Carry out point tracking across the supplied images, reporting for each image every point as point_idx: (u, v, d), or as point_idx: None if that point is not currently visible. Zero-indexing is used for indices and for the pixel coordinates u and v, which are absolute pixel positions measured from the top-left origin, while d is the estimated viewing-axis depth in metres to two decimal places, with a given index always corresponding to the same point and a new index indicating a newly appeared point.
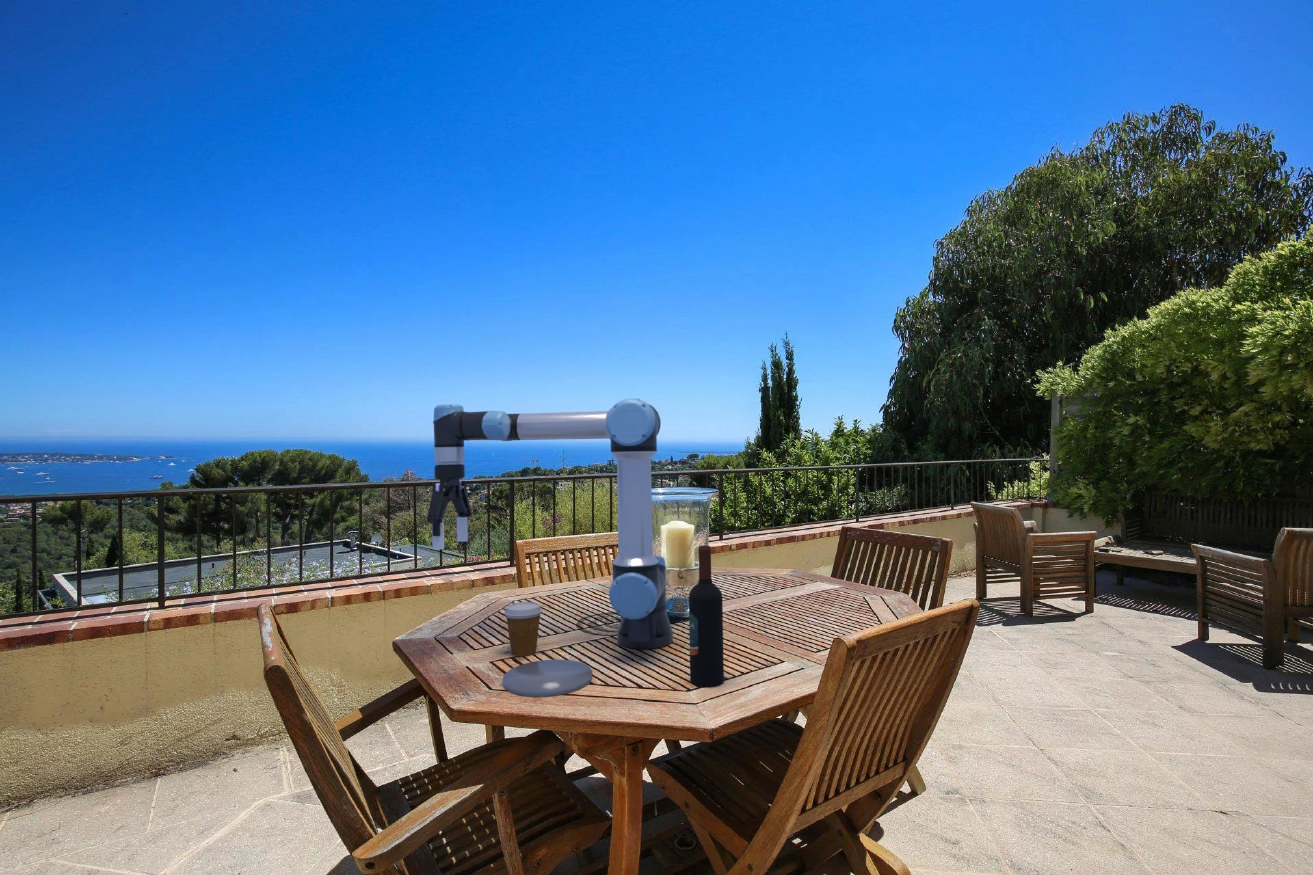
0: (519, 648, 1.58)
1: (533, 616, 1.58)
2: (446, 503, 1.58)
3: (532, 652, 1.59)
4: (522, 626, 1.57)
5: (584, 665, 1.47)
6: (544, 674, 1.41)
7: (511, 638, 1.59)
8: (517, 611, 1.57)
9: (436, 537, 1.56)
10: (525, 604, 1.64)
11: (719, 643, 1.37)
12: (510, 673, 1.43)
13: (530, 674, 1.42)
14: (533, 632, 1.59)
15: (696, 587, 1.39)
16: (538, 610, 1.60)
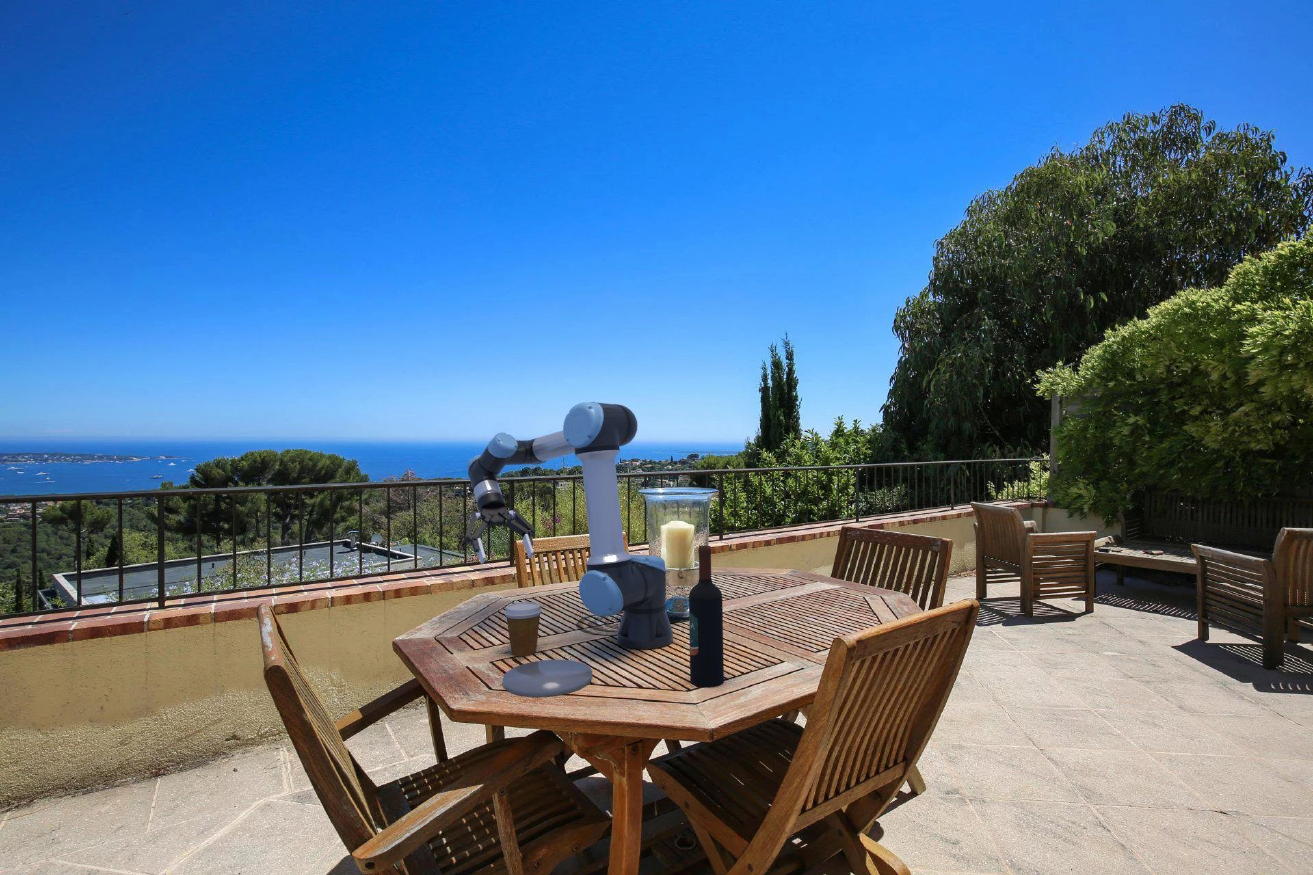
0: (519, 648, 1.58)
1: (533, 616, 1.58)
2: (483, 524, 1.74)
3: (532, 652, 1.59)
4: (522, 626, 1.57)
5: (584, 665, 1.47)
6: (544, 674, 1.41)
7: (511, 638, 1.59)
8: (517, 611, 1.57)
9: (479, 552, 1.69)
10: (525, 604, 1.64)
11: (719, 643, 1.37)
12: (510, 673, 1.43)
13: (530, 674, 1.42)
14: (533, 632, 1.59)
15: (696, 587, 1.39)
16: (538, 610, 1.60)
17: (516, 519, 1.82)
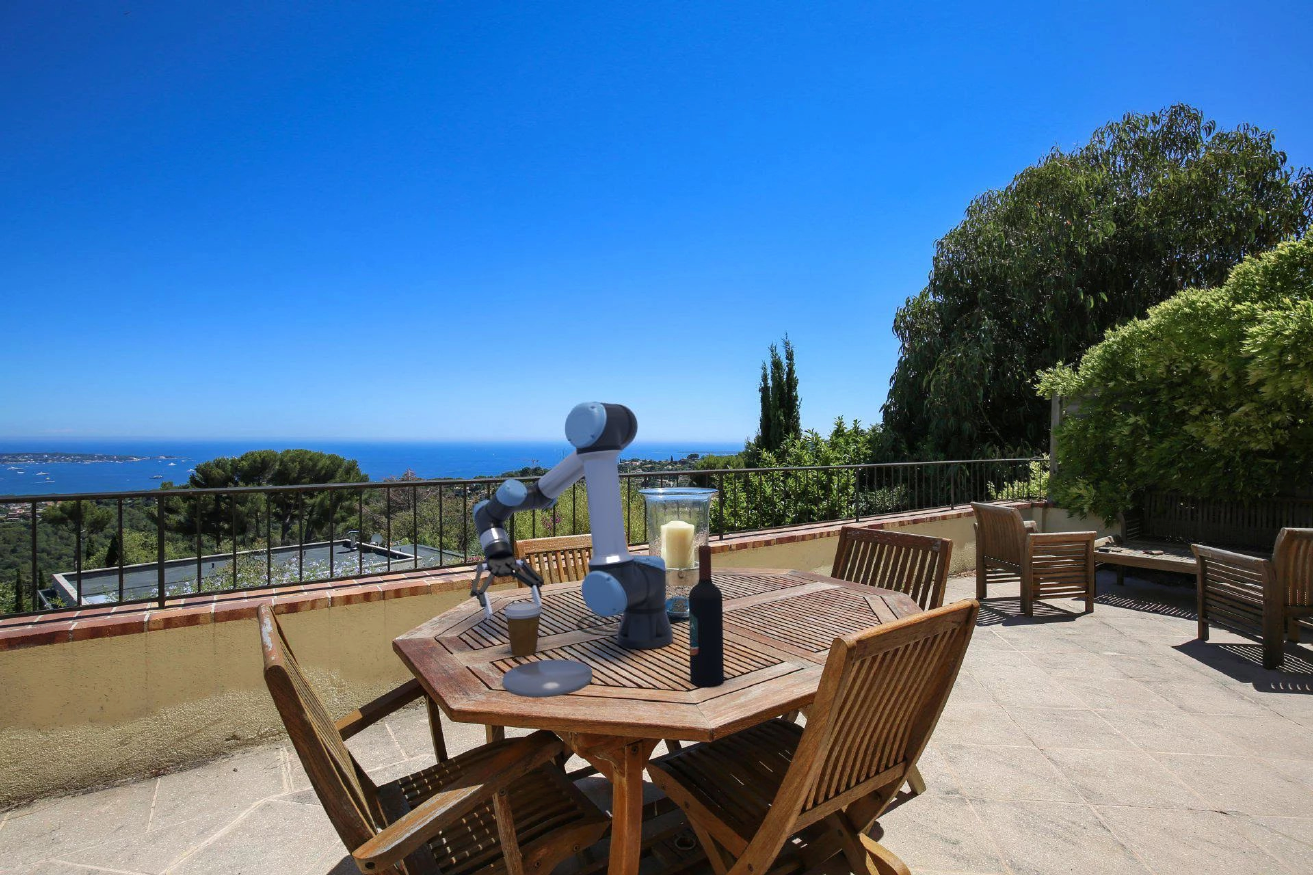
0: (519, 648, 1.58)
1: (533, 616, 1.58)
2: (490, 576, 1.68)
3: (532, 652, 1.59)
4: (522, 626, 1.57)
5: (584, 665, 1.47)
6: (544, 674, 1.41)
7: (511, 638, 1.59)
8: (517, 611, 1.57)
9: (485, 607, 1.63)
10: (525, 604, 1.64)
11: (719, 643, 1.37)
12: (510, 673, 1.43)
13: (530, 674, 1.42)
14: (533, 632, 1.59)
15: (696, 587, 1.39)
16: (538, 610, 1.60)
17: (524, 569, 1.76)
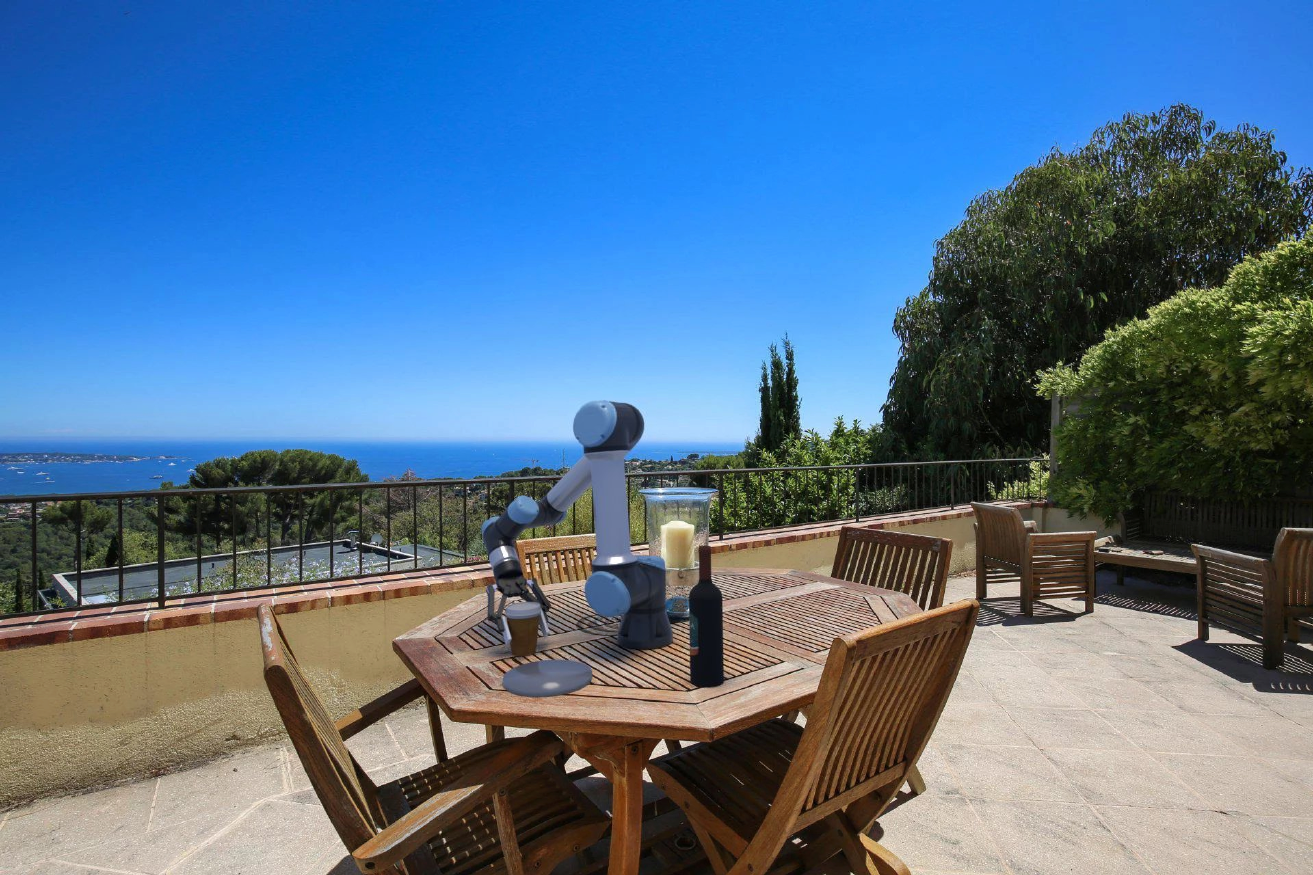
0: (519, 648, 1.58)
1: (533, 616, 1.58)
2: (503, 598, 1.63)
3: (532, 652, 1.59)
4: (522, 626, 1.57)
5: (584, 665, 1.47)
6: (544, 674, 1.41)
7: (511, 638, 1.59)
8: (517, 611, 1.57)
9: (504, 632, 1.58)
10: (525, 604, 1.64)
11: (719, 643, 1.37)
12: (510, 673, 1.43)
13: (530, 674, 1.42)
14: (533, 632, 1.59)
15: (696, 587, 1.39)
16: (538, 610, 1.60)
17: (533, 590, 1.70)
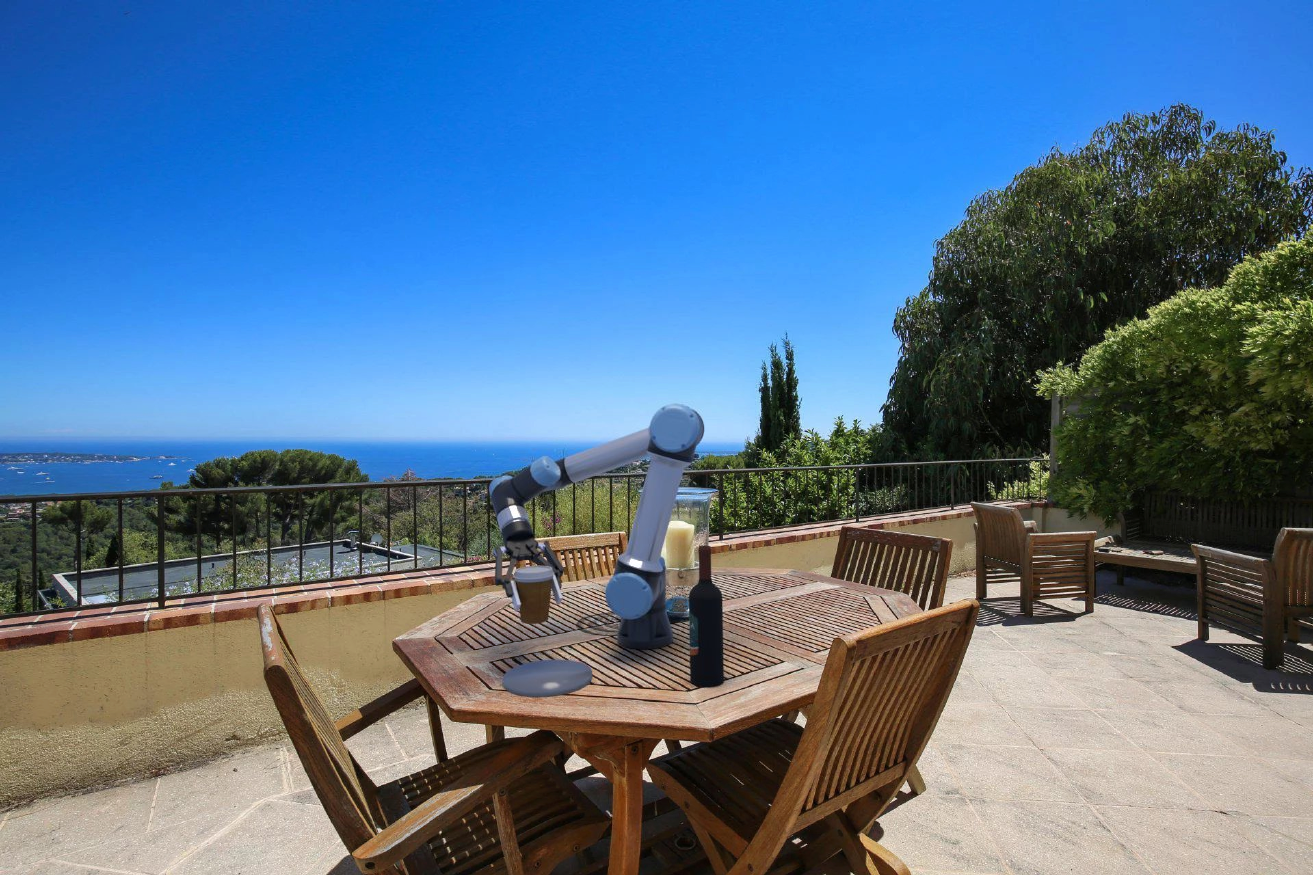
0: (529, 615, 1.43)
1: (544, 580, 1.43)
2: (512, 561, 1.48)
3: (544, 620, 1.44)
4: (533, 590, 1.42)
5: (584, 665, 1.47)
6: (544, 674, 1.41)
7: None
8: (527, 574, 1.42)
9: (512, 597, 1.43)
10: (536, 568, 1.49)
11: (719, 643, 1.37)
12: (510, 673, 1.43)
13: (530, 674, 1.42)
14: (545, 597, 1.44)
15: (696, 587, 1.39)
16: (550, 573, 1.45)
17: (545, 554, 1.55)
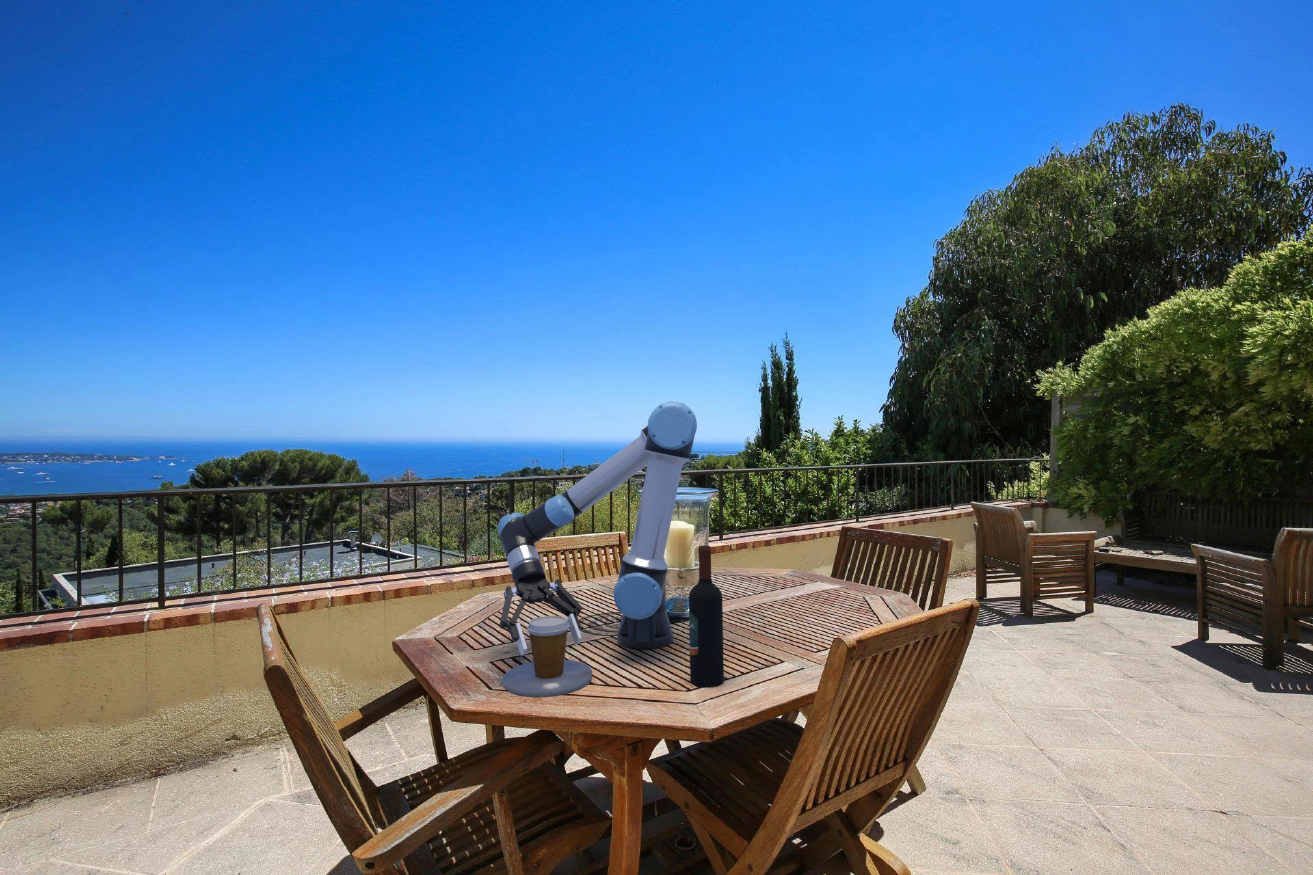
0: (544, 669, 1.39)
1: (560, 633, 1.39)
2: (521, 603, 1.44)
3: (559, 673, 1.40)
4: (548, 644, 1.38)
5: (584, 665, 1.47)
6: None
7: (535, 658, 1.40)
8: (542, 627, 1.38)
9: (518, 641, 1.38)
10: (550, 618, 1.45)
11: (719, 643, 1.37)
12: (510, 673, 1.43)
13: (530, 674, 1.42)
14: (560, 650, 1.40)
15: (696, 587, 1.39)
16: (565, 626, 1.41)
17: (558, 593, 1.51)
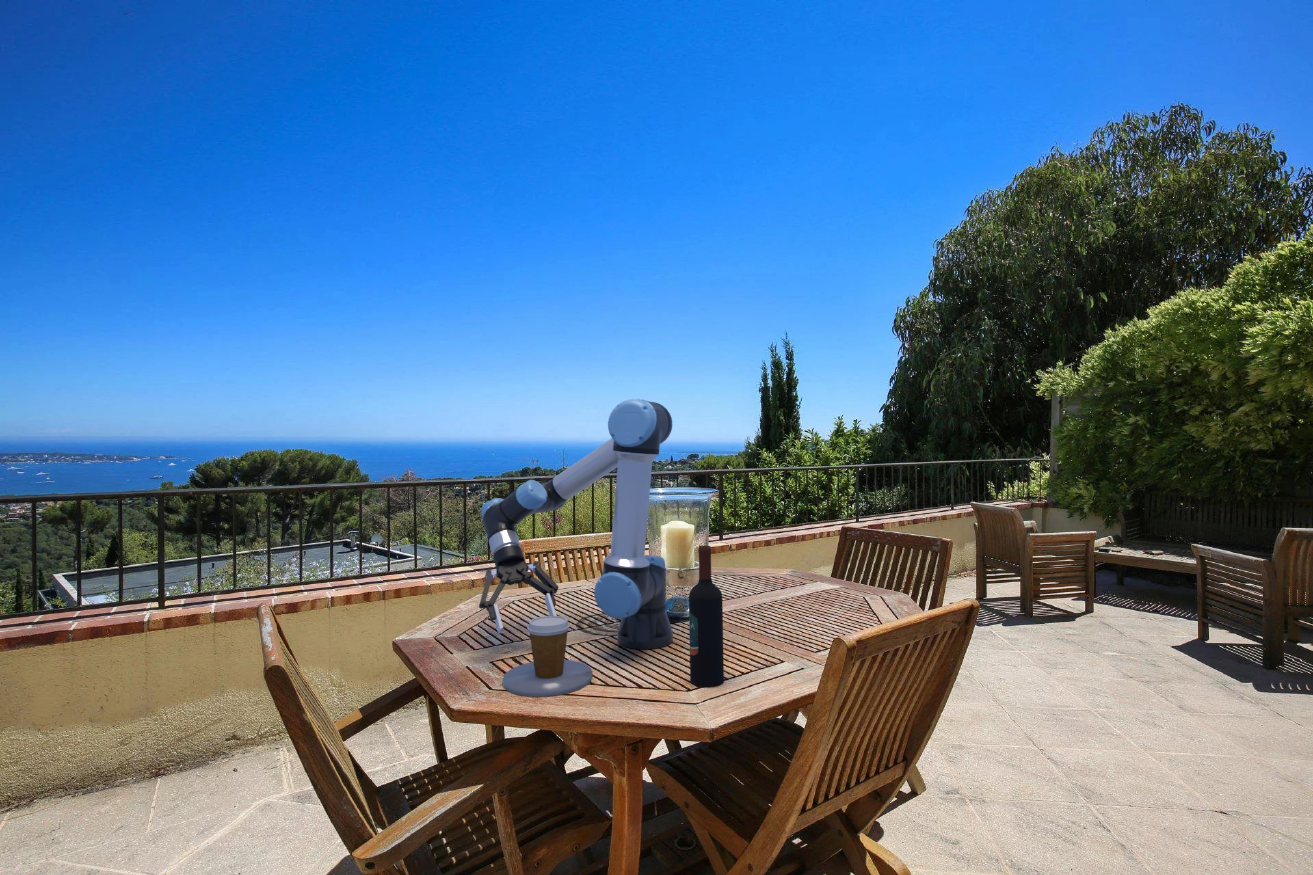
0: (544, 669, 1.39)
1: (560, 633, 1.39)
2: (500, 585, 1.56)
3: (559, 673, 1.40)
4: (548, 644, 1.38)
5: (584, 665, 1.47)
6: None
7: (535, 657, 1.40)
8: (542, 627, 1.38)
9: (496, 620, 1.51)
10: (550, 618, 1.45)
11: (719, 643, 1.37)
12: (510, 673, 1.43)
13: (530, 674, 1.42)
14: (560, 650, 1.40)
15: (696, 587, 1.39)
16: (566, 626, 1.41)
17: (537, 574, 1.64)
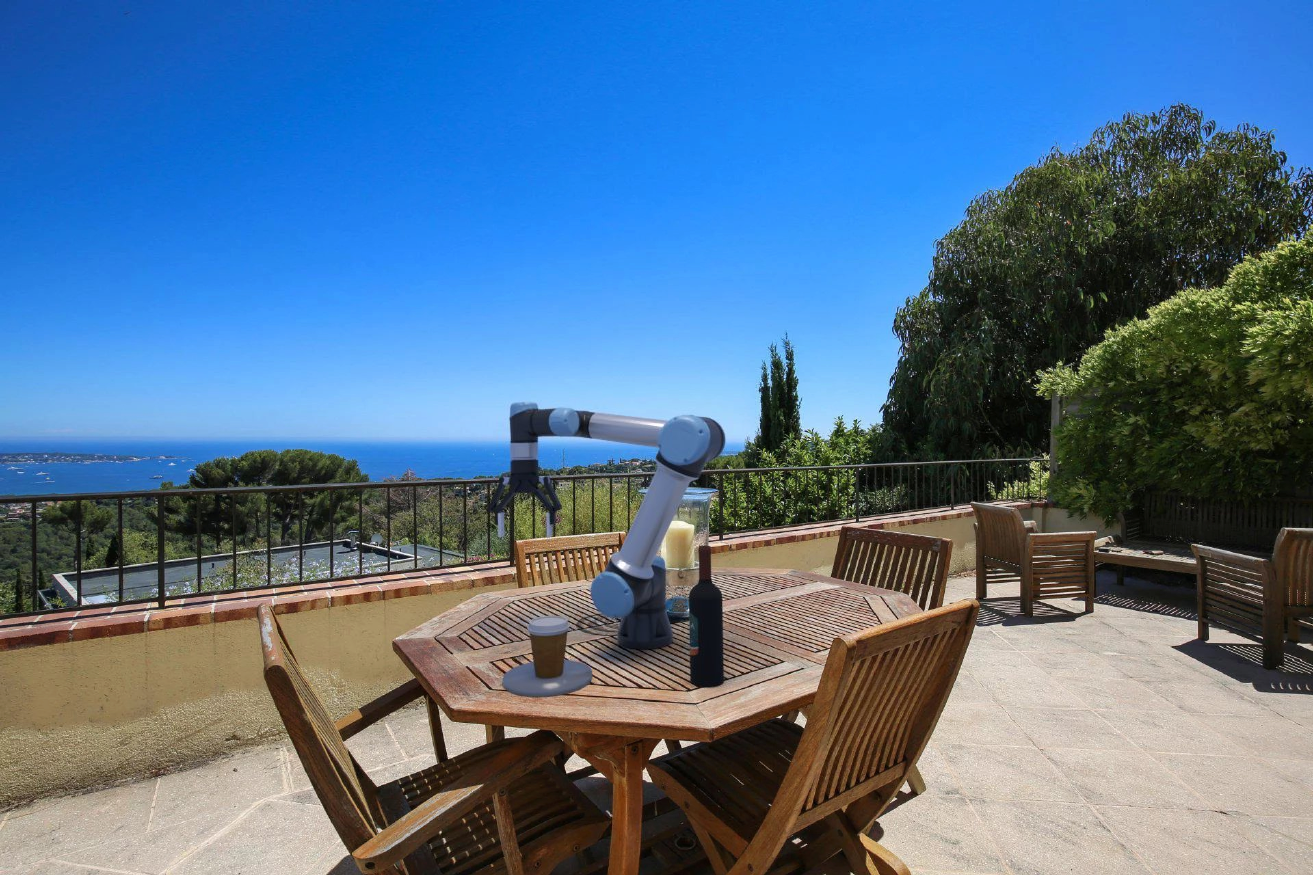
0: (544, 669, 1.39)
1: (560, 633, 1.39)
2: (507, 496, 1.69)
3: (559, 673, 1.40)
4: (548, 644, 1.38)
5: (584, 665, 1.47)
6: None
7: (535, 657, 1.40)
8: (542, 627, 1.38)
9: None
10: (550, 618, 1.45)
11: (719, 643, 1.37)
12: (510, 673, 1.43)
13: (530, 674, 1.42)
14: (560, 650, 1.40)
15: (696, 587, 1.39)
16: (566, 626, 1.41)
17: None
